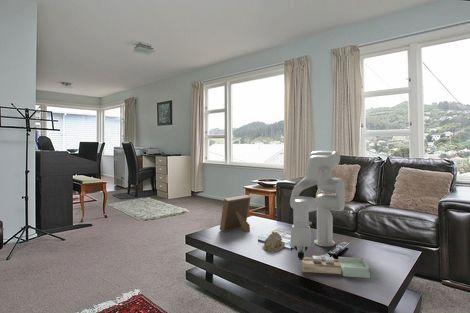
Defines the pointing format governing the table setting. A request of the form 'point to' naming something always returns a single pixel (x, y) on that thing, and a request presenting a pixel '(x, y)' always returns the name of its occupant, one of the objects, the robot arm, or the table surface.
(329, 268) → the slot rail
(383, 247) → the table surface
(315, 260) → the chip
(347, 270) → the tray
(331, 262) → the chip
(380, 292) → the table surface
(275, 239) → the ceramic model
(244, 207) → the photo frame
